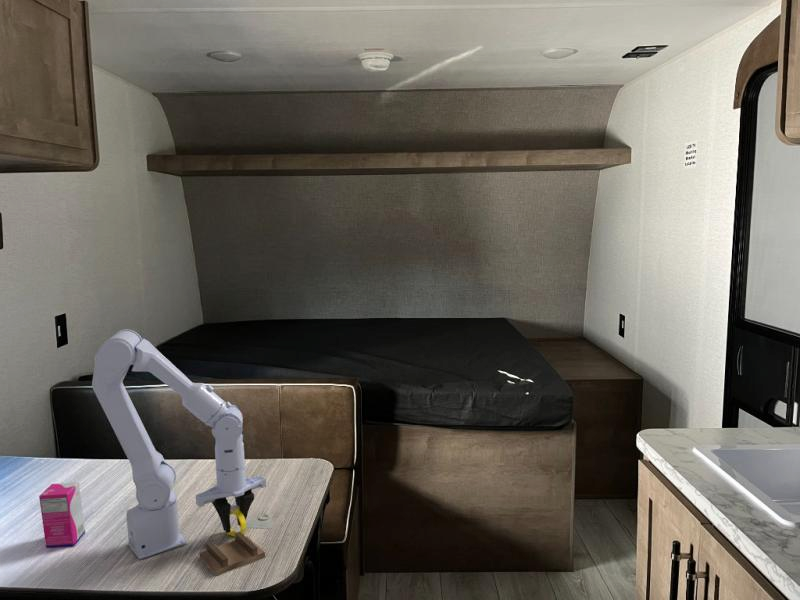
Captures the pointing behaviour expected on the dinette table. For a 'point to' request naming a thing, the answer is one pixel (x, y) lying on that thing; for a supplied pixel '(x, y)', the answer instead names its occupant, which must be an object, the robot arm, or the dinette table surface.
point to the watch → (237, 512)
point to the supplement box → (62, 514)
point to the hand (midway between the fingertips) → (234, 528)
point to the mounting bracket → (260, 522)
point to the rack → (231, 554)
